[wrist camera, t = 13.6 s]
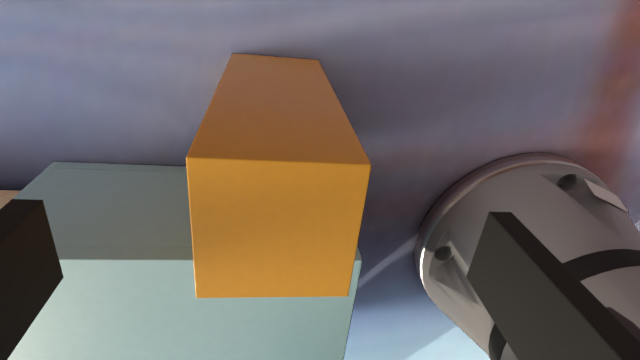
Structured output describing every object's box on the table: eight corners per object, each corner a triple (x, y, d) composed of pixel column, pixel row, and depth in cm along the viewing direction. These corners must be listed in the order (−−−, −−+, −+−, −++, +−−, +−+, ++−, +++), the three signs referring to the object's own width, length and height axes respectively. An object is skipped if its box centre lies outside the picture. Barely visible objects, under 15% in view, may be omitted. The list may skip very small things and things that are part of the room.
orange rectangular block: (232, 53, 22) (185, 157, 10) (318, 59, 23) (372, 164, 11) (232, 134, 25) (195, 298, 12) (311, 138, 25) (348, 297, 13)
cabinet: (92, 318, 31) (28, 445, 23) (53, 161, 24) (-57, 258, 16) (316, 315, 33) (330, 427, 25) (334, 171, 27) (362, 260, 19)
